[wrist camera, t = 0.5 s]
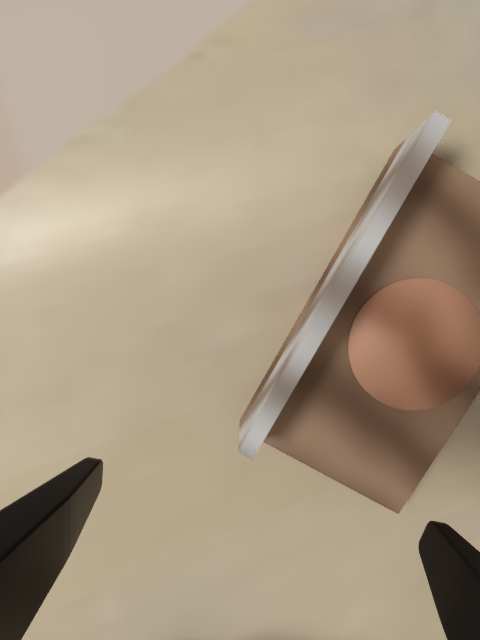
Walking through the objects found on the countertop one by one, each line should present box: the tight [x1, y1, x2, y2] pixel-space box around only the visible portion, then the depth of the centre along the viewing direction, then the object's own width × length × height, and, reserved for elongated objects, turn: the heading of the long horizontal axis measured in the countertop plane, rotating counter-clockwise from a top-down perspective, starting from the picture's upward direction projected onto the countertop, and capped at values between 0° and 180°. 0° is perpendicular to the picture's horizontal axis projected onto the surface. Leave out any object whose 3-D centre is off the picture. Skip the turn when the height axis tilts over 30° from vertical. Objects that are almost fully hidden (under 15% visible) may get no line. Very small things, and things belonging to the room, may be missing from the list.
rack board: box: [238, 111, 480, 514], centre depth 20 cm, size 22×13×4 cm, turn 151°
